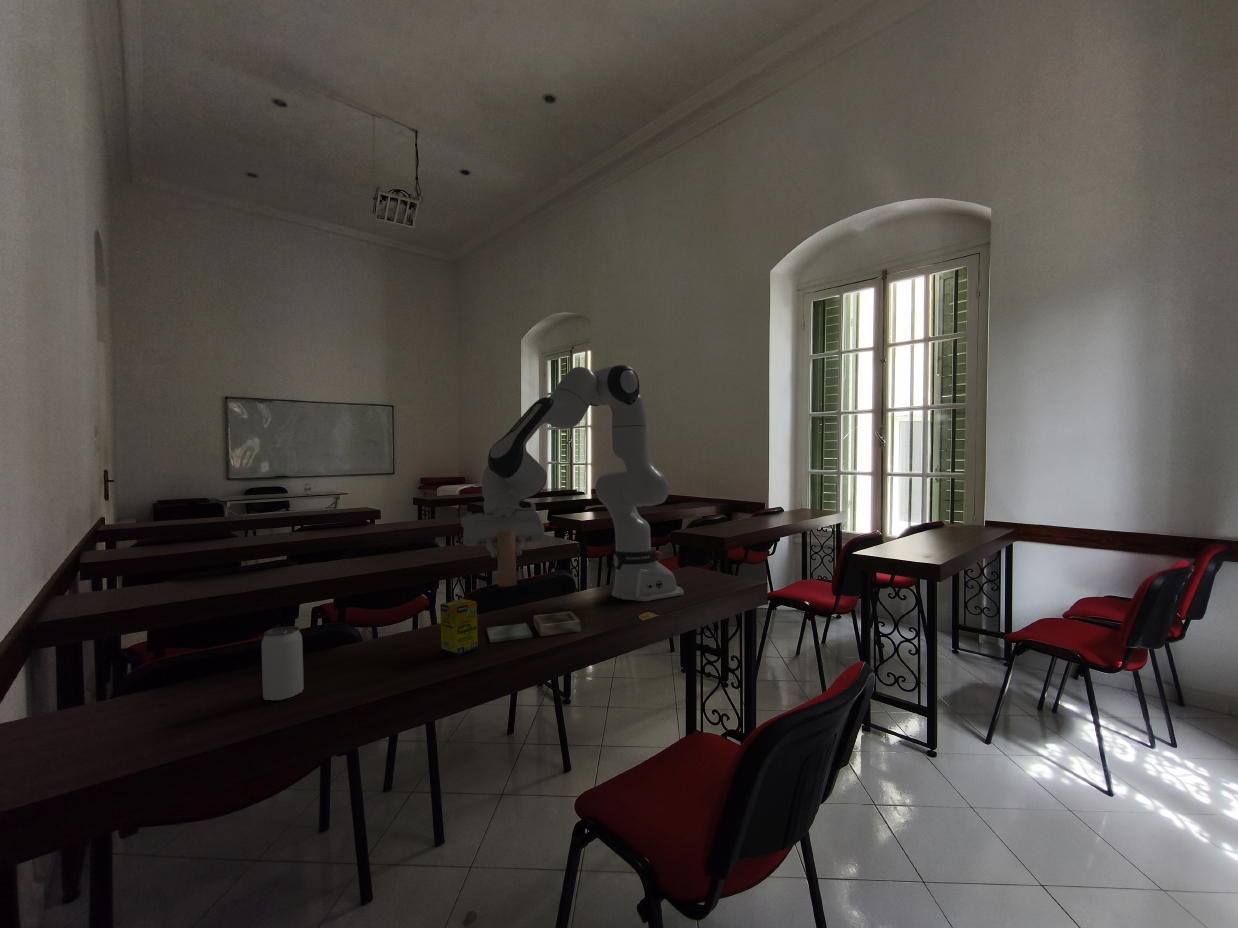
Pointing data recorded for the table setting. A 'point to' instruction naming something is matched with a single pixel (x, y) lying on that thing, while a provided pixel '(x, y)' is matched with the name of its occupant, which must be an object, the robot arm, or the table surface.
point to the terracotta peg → (506, 558)
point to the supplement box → (459, 627)
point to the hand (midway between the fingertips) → (506, 554)
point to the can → (282, 663)
